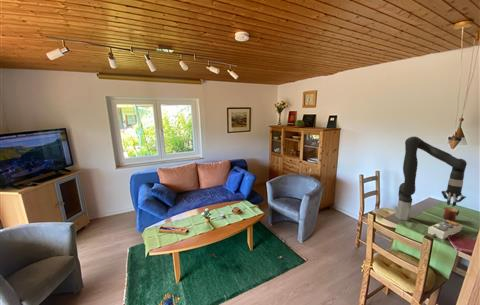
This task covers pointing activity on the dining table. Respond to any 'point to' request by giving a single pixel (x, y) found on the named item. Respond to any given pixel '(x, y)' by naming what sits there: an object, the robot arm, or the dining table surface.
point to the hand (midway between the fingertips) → (451, 205)
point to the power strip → (444, 234)
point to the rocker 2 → (453, 222)
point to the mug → (450, 213)
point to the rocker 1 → (442, 227)
